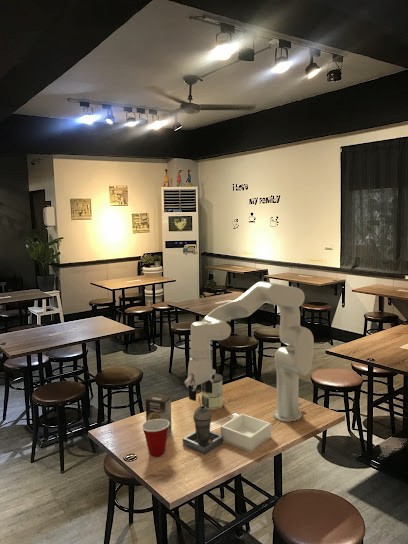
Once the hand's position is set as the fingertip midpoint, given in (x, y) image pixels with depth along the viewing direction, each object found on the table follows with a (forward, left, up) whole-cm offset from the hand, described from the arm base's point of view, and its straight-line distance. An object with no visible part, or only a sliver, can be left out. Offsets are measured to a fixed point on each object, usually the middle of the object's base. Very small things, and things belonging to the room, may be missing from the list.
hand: (200, 396), depth 172 cm
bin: (-14, +11, -20) cm, 27 cm away
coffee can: (-30, -20, -21) cm, 42 cm away
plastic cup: (+16, -10, -21) cm, 28 cm away
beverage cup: (0, 0, -21) cm, 21 cm away
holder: (0, 0, -20) cm, 20 cm away
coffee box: (+5, -20, -21) cm, 29 cm away
